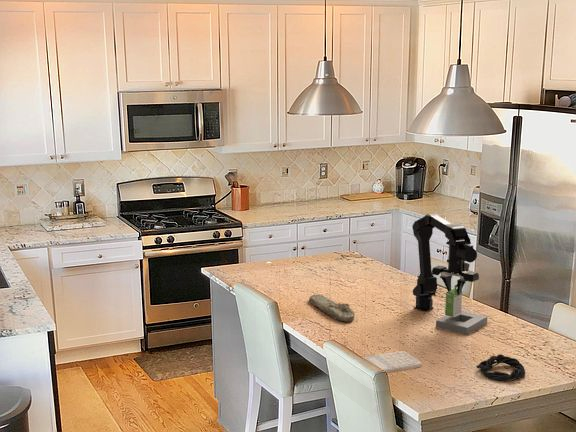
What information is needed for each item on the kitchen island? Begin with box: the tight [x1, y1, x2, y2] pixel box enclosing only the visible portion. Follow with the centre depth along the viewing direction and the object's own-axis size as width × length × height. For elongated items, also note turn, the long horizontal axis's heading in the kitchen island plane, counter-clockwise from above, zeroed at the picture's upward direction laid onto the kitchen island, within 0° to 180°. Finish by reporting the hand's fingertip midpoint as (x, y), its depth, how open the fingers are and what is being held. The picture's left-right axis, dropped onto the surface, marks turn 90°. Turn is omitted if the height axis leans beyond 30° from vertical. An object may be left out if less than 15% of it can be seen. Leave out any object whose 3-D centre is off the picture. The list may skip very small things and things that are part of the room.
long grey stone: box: [308, 294, 355, 322], centre depth 324 cm, size 35×5×10 cm
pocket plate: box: [435, 310, 488, 336], centre depth 305 cm, size 14×18×3 cm
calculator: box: [362, 350, 423, 373], centre depth 265 cm, size 13×20×2 cm, turn 112°
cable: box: [475, 354, 526, 382], centre depth 257 cm, size 17×14×4 cm
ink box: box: [444, 284, 463, 317], centre depth 304 cm, size 7×4×13 cm, turn 138°
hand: (454, 293), depth 304 cm, fingers closed on ink box, 4 cm apart
